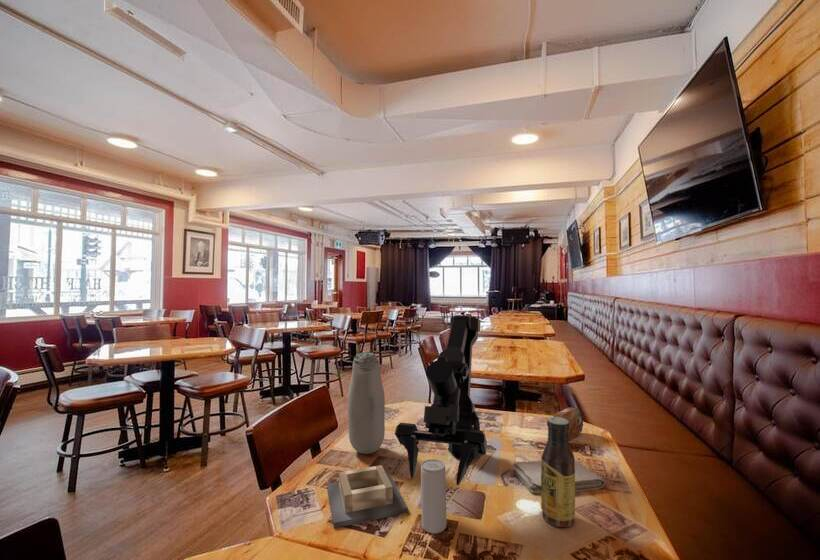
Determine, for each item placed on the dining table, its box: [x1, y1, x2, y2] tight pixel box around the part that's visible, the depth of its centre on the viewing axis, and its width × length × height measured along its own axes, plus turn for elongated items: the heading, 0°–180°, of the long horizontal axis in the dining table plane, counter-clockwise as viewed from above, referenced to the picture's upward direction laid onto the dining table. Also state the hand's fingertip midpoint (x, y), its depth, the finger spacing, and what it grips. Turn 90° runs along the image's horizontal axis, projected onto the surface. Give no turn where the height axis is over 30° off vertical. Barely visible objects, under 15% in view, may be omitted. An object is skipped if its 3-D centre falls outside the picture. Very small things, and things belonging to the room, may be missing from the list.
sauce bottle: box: [540, 416, 576, 528], centre depth 74 cm, size 7×6×20 cm
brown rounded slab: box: [552, 406, 584, 442], centre depth 113 cm, size 15×3×8 cm, turn 129°
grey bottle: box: [347, 351, 386, 455], centre depth 106 cm, size 10×10×28 cm
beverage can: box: [420, 458, 448, 535], centre depth 72 cm, size 5×5×12 cm
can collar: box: [326, 465, 409, 529], centre depth 82 cm, size 15×15×4 cm
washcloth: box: [512, 459, 606, 495], centre depth 89 cm, size 12×18×3 cm, turn 100°
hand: (434, 481), depth 73 cm, fingers open, 9 cm apart
